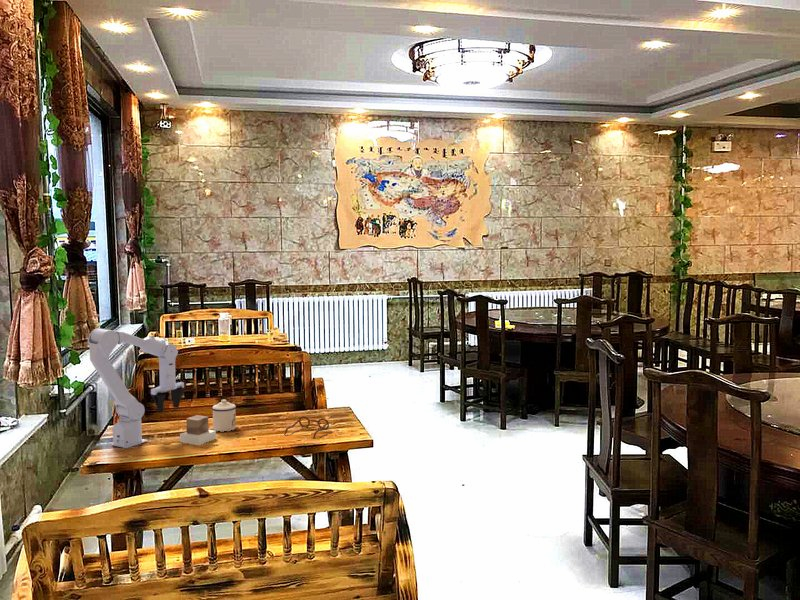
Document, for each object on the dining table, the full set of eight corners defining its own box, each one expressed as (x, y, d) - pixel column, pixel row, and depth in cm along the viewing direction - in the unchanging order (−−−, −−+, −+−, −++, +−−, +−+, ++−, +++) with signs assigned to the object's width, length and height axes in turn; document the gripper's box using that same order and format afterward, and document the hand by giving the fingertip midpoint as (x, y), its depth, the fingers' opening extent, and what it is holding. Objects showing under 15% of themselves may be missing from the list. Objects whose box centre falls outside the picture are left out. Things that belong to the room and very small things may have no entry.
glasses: (329, 430, 259) (329, 418, 258) (313, 440, 247) (313, 427, 246) (300, 427, 263) (300, 415, 263) (283, 436, 251) (282, 423, 251)
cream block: (199, 446, 238) (198, 437, 238) (180, 443, 242) (179, 434, 242) (216, 440, 246) (215, 430, 246) (197, 436, 250) (197, 427, 250)
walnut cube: (198, 435, 241) (197, 420, 240) (186, 433, 243) (186, 418, 242) (208, 431, 246) (208, 416, 245) (197, 429, 248) (196, 415, 247)
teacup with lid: (237, 430, 257) (237, 401, 256) (213, 433, 254) (212, 403, 253) (234, 423, 268) (233, 394, 267) (211, 425, 265) (210, 396, 264)
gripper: (159, 379, 242) (161, 415, 244) (189, 372, 255) (190, 406, 256) (146, 377, 246) (147, 412, 247) (176, 370, 259) (177, 404, 260)
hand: (168, 409), depth 252 cm, fingers open, 7 cm apart
